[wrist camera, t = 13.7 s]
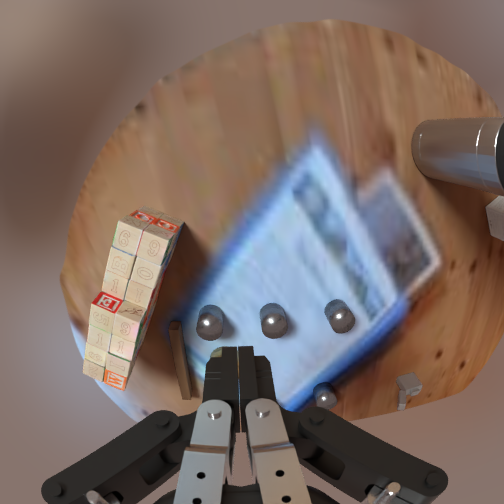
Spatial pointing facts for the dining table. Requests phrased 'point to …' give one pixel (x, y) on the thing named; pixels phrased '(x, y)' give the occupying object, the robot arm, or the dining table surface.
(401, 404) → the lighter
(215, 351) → the gold short domed cylinder
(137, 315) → the stack of blocks
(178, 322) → the bar
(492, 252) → the dining table surface
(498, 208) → the small box
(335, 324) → the spacers
